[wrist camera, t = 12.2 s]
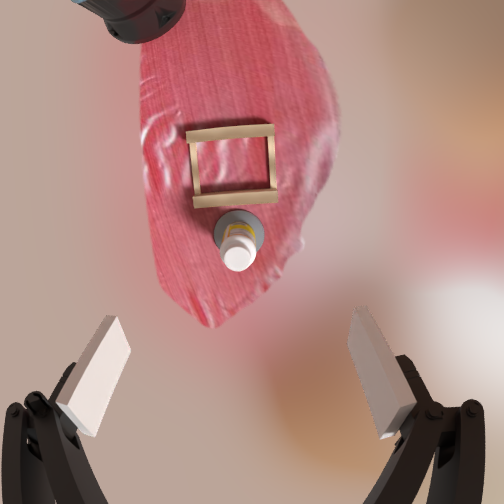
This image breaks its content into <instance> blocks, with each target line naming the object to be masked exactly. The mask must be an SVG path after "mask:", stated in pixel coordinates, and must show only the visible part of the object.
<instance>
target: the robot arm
mask: <svg viewBox="0 0 504 504" xmlns="http://www.w3.org/2000/svg"><path fill="white" fill-rule="evenodd" d="M71 1H72V2H74V3H77V4H79V5H81V6H83V7H85V8H86V9H88V10H90V11H91V12H93V13H95V14H97V15H98V16H100V17H102V18H103V19H104V22H105V24H106V27H107V29H108V31H109V33H110V34H111V35H112V36H113V37H115V38H116V39H118V40H120V41H122V42H124V43H128V44H140V43H145V42H148V41H151V40H154V39H156V38H158V37H160V36H162V35H163V34H165V33H166V32H167V31H169V30H170V29H171V28H172V27H173V26H174V25H175V24H176V23H177V22H178V21H179V19H180V18H181V16H182V14H183V12H184V10H185V6H186V0H71ZM347 346H348V349H349V351H350V354H351V356H352V359H353V362H354V365H355V367H356V370H357V373H358V376H359V379H360V381H361V384H362V387H363V390H364V393H365V395H366V398H367V401H368V404H369V407H370V410H371V413H372V416H373V419H374V422H375V426H376V429H377V432H378V435H379V438H380V439H383V438H386V437H390V436H393V435H395V434H396V433H397V431H398V430H400V433H401V437H400V438H399V440H398V441H397V442H396V443H395V445H396V447H395V449H394V451H393V453H392V455H391V457H390V459H389V461H388V462H387V464H386V466H385V468H384V470H383V472H382V473H381V475H380V477H379V479H378V480H377V482H376V484H375V485H374V487H373V489H372V490H371V492H370V493H369V495H368V497H367V498H366V500H365V501H364V503H363V504H412V502H413V500H414V498H415V497H416V495H417V493H418V490H419V488H420V486H421V484H422V482H423V479H424V477H425V475H426V473H427V470H428V468H429V465H430V463H431V460H432V458H433V455H434V453H435V457H434V464H433V471H432V477H431V484H430V488H429V493H428V498H427V503H426V504H481V502H482V494H483V485H484V472H485V421H484V410H483V406H482V405H481V404H480V403H479V402H478V401H477V400H473V399H470V400H467V401H465V402H464V403H463V404H462V406H461V407H448V408H447V407H443V406H442V405H441V404H440V403H438V402H434V401H433V400H432V398H431V396H430V394H429V392H428V390H427V389H426V386H425V384H424V382H423V380H422V379H421V377H420V375H419V373H418V371H416V368H415V366H414V364H413V362H412V361H411V360H410V359H409V358H408V357H407V356H405V355H400V356H396V357H395V356H394V354H393V353H392V351H391V349H390V347H389V345H388V343H387V341H386V339H385V337H384V336H383V334H382V332H381V330H380V328H379V326H378V325H377V323H376V321H375V319H374V318H373V316H372V314H371V312H370V310H369V309H368V307H367V306H360V307H354V309H353V315H352V321H351V326H350V331H349V337H348V341H347ZM130 352H131V349H130V347H129V345H128V342H127V340H126V337H125V335H124V332H123V330H122V328H121V325H120V322H119V320H118V317H117V316H106V317H105V318H104V320H103V321H102V323H101V324H100V326H99V328H98V329H97V331H96V332H95V334H94V335H93V337H92V339H91V340H90V342H89V343H88V345H87V347H86V348H85V350H84V352H83V353H82V355H81V357H80V358H79V360H78V362H77V363H75V362H73V363H72V364H71V365H70V366H68V367H67V369H66V370H65V372H64V373H63V377H61V379H60V380H59V382H58V384H57V386H56V387H55V389H54V391H53V393H52V395H51V396H50V398H49V400H47V399H46V397H45V396H44V395H43V394H42V393H41V392H39V391H34V392H32V393H30V394H28V396H27V397H26V398H25V401H24V405H25V407H26V408H27V409H25V408H24V407H23V406H22V405H21V404H20V403H17V402H15V403H13V404H11V405H10V406H9V407H8V408H7V411H6V417H5V425H4V434H3V445H2V499H3V504H55V500H56V503H57V504H108V502H107V500H106V499H105V497H104V495H103V493H102V491H101V489H100V487H99V485H98V482H97V480H96V478H95V476H94V474H93V471H92V469H91V467H90V464H89V462H88V460H87V457H86V455H85V452H84V450H83V447H82V444H81V441H80V439H79V436H78V435H77V433H76V431H77V428H78V429H79V430H80V431H81V432H82V433H83V434H85V435H89V436H92V437H95V436H96V434H97V431H98V428H99V426H100V423H101V421H102V418H103V416H104V413H105V410H106V407H107V406H108V403H109V400H110V398H111V395H112V393H113V391H114V389H115V386H116V384H117V382H118V379H119V377H120V375H121V372H122V370H123V368H124V366H125V363H126V361H127V359H128V357H129V354H130ZM27 439H28V444H27Z"/></svg>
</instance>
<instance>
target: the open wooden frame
mask: <svg viewBox="0 0 504 504" xmlns="http://www.w3.org/2000/svg"><path fill="white" fill-rule="evenodd" d="M264 136H268V152H269V170H270V188H266V189H249V190H235V191H222V192H210V193H201V188H200V179H199V169H198V159H197V148H196V142H203V141H212V140H222V139H234V138H247V137H264ZM274 136H275V132H274V124H259V125H243V126H231V127H220V128H211V129H202V130H194V131H187V132H186V139H187V143H189V144H190V154H191V164H192V174H193V183H194V192H195V195H194V196H193V204H194V208H205V207H218V206H231V205H245V204H262V203H278V191H277V187H276V166H275V147H274Z"/></svg>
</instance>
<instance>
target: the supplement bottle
mask: <svg viewBox="0 0 504 504" xmlns="http://www.w3.org/2000/svg"><path fill="white" fill-rule="evenodd" d="M220 256H221V259H222V261H223V262H224V263H225V265H226V266H227V267H228V268H229V269H231V270H233V271H242V270H245V269H246V268H247V267H248V266H249V265H250V264H251V263H252V262H253V261H254V259H255V256H256V243H255V233H254V230H253V228H252V227H251V226H250V225H249V224H248V223H246V222H243V221H236V222H233V223H231V224H229V225H228V226H227V227H226V229H225V231H224V235H223V239H222V243H221V247H220Z"/></svg>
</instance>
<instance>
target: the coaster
mask: <svg viewBox="0 0 504 504" xmlns="http://www.w3.org/2000/svg"><path fill="white" fill-rule="evenodd" d="M236 221H243V222H246V223H248V224H249V225H250V226H251V227H252V228H253V230H254V233H255V243H256V252H257V251H258V250H259V249H260V247H261V246H262V244H263V241H264V229H263V225H262V223H261V222H260V220H259V219H258V218H257V217H256V216H255V215H254V214H252V213H250V212H248V211H244V210H233V211H230V212H228V213H226V214H224V215H223V216H222V217H221V218H220V219H219V220H218V222H217V223H216V226H215V229H214V240H215V243H216V245H217V246H218V248H219V249H220V247H221V243H222V239H223V235H224V231H225V229H226V227H227V226H228V225H229V224H231V223H233V222H236Z"/></svg>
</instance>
